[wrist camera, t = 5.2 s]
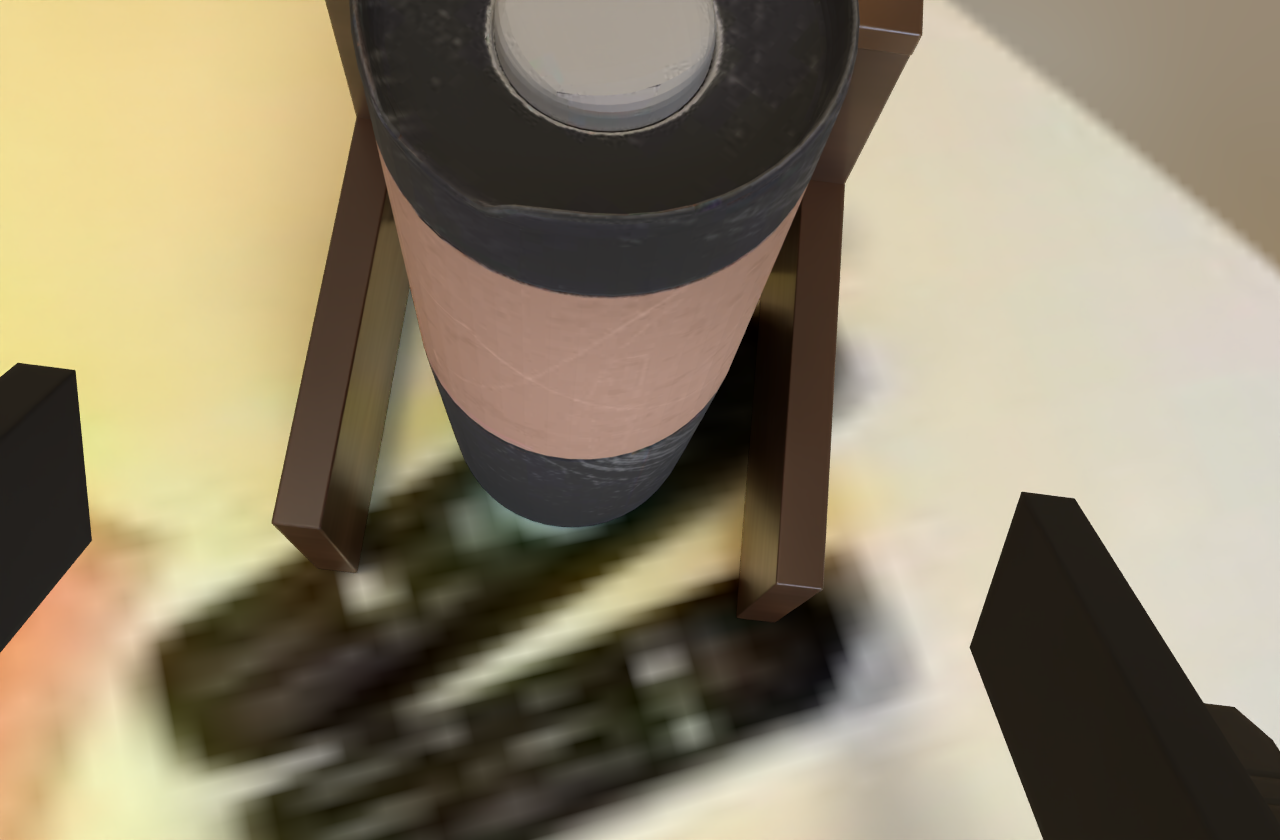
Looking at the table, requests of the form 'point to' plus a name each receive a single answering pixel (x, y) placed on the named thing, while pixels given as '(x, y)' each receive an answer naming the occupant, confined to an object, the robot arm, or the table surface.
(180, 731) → the table surface
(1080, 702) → the robot arm
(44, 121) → the table surface
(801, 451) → the shelf rack
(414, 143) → the travel mug
